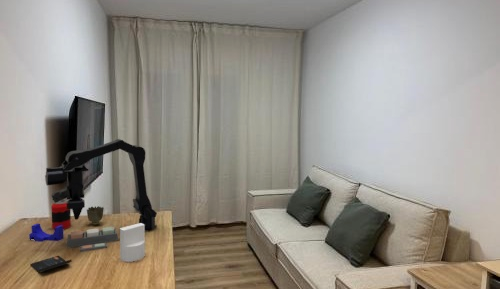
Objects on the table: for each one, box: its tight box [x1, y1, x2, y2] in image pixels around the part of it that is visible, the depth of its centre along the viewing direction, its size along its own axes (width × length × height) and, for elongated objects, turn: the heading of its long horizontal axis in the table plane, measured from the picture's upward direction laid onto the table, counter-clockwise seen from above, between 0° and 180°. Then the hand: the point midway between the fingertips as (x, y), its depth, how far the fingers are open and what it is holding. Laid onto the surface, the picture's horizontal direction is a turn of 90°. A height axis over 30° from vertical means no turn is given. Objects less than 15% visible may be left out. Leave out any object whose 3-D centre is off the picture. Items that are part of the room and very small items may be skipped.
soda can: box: [50, 200, 72, 231], centre depth 154 cm, size 8×8×12 cm
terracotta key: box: [70, 230, 84, 239], centre depth 137 cm, size 4×4×2 cm
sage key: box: [101, 226, 115, 235], centre depth 143 cm, size 4×4×2 cm
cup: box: [86, 205, 104, 226], centre depth 159 cm, size 8×7×8 cm
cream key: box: [86, 228, 99, 237], centre depth 140 cm, size 4×4×2 cm
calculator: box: [29, 254, 72, 274], centre depth 118 cm, size 9×12×3 cm
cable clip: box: [28, 223, 64, 242], centre depth 140 cm, size 12×4×6 cm, turn 85°
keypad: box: [65, 228, 120, 249], centre depth 140 cm, size 20×8×3 cm, turn 117°
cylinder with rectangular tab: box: [119, 222, 146, 263], centre depth 127 cm, size 9×9×12 cm
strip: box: [79, 242, 108, 253], centre depth 133 cm, size 10×3×1 cm, turn 117°
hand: (76, 219), depth 137 cm, fingers closed
